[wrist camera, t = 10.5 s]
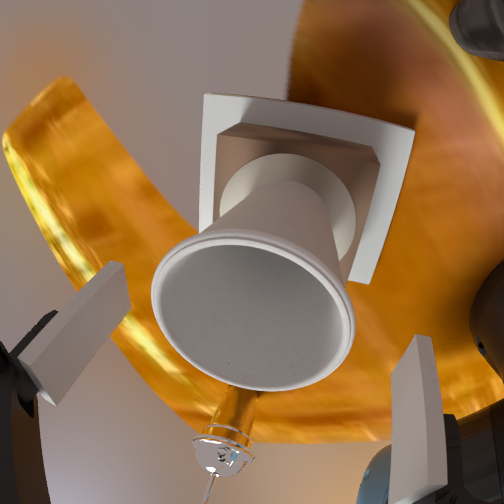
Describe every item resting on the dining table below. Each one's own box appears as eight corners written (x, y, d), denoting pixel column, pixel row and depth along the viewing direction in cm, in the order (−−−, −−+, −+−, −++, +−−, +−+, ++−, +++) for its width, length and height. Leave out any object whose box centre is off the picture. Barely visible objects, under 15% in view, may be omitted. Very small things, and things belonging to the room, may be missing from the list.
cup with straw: (210, 371, 43) (156, 495, 26) (273, 381, 41) (233, 518, 24) (220, 402, 47) (177, 510, 31) (275, 411, 45) (242, 528, 28)
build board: (410, 128, 21) (415, 131, 20) (368, 274, 29) (368, 284, 27) (211, 92, 23) (204, 94, 22) (204, 239, 31) (199, 247, 30)
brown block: (371, 146, 21) (380, 165, 17) (343, 259, 27) (342, 297, 23) (239, 122, 23) (216, 135, 19) (230, 235, 28) (210, 267, 24)
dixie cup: (203, 183, 20) (114, 263, 12) (327, 141, 17) (318, 202, 9) (252, 286, 24) (206, 395, 15) (364, 262, 20) (370, 383, 12)
